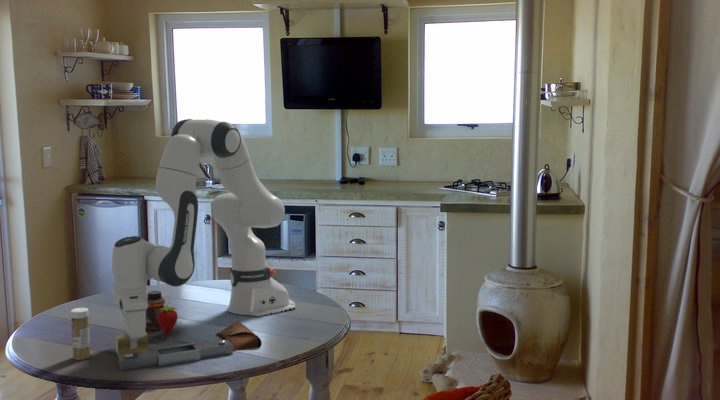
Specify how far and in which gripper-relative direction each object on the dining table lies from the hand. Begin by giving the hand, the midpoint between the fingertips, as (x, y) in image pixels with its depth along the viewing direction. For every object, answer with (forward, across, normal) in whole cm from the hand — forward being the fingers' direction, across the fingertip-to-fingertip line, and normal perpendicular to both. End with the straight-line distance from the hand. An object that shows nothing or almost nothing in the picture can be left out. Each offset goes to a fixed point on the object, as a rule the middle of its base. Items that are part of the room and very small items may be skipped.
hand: (132, 345), depth 198 cm
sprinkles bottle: (+2, -2, -13) cm, 13 cm away
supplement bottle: (+2, -20, +10) cm, 22 cm away
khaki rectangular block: (+2, 0, 0) cm, 2 cm away
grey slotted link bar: (+2, +10, +10) cm, 14 cm away
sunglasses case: (+3, +2, +29) cm, 29 cm away
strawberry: (+2, -12, +12) cm, 17 cm away
